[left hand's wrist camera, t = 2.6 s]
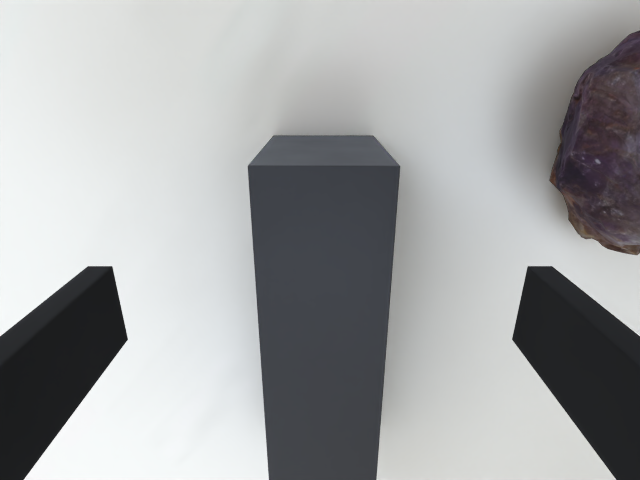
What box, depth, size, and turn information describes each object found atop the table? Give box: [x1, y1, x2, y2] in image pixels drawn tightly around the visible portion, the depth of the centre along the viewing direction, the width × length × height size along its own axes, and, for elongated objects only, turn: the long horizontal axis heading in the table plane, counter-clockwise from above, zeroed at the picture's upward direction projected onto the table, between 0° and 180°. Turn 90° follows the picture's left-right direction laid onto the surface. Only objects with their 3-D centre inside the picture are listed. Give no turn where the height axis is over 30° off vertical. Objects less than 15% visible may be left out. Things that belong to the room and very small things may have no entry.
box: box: [248, 136, 400, 480], centre depth 25 cm, size 24×6×9 cm, turn 0°
